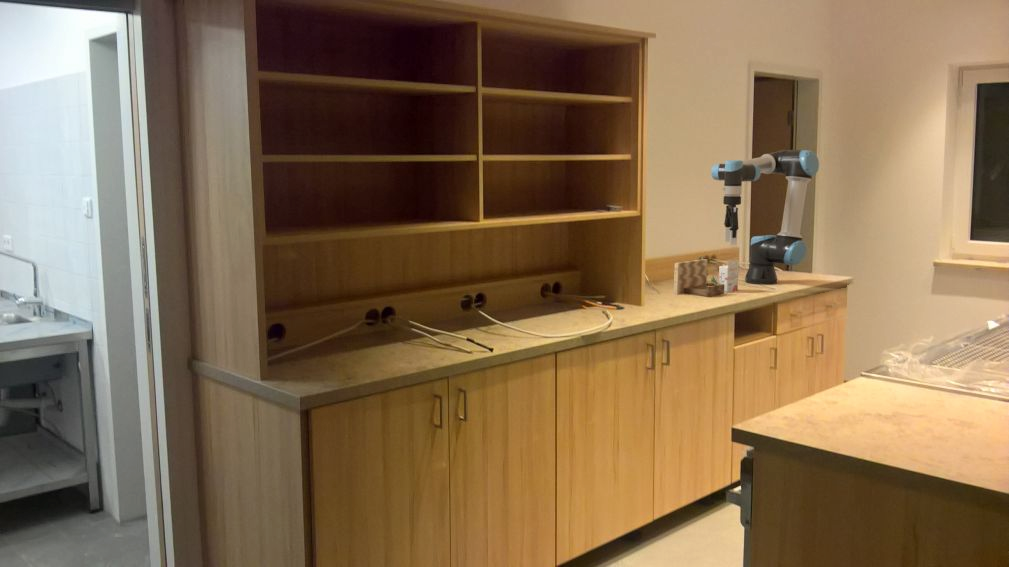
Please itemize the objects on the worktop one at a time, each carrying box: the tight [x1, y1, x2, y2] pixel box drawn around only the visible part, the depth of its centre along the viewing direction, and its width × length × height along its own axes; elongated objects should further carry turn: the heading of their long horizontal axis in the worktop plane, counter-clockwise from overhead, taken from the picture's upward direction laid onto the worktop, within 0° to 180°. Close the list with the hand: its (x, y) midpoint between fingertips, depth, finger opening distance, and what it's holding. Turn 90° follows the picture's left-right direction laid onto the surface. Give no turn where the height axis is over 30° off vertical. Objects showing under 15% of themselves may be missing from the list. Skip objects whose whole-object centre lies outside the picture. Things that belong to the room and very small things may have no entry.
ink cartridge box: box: [718, 259, 739, 294], centre depth 387 cm, size 9×5×15 cm, turn 131°
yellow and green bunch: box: [698, 255, 719, 286], centre depth 407 cm, size 10×18×15 cm, turn 47°
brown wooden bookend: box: [673, 258, 725, 298], centre depth 380 cm, size 22×15×14 cm
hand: (730, 243), depth 376 cm, fingers open, 13 cm apart
